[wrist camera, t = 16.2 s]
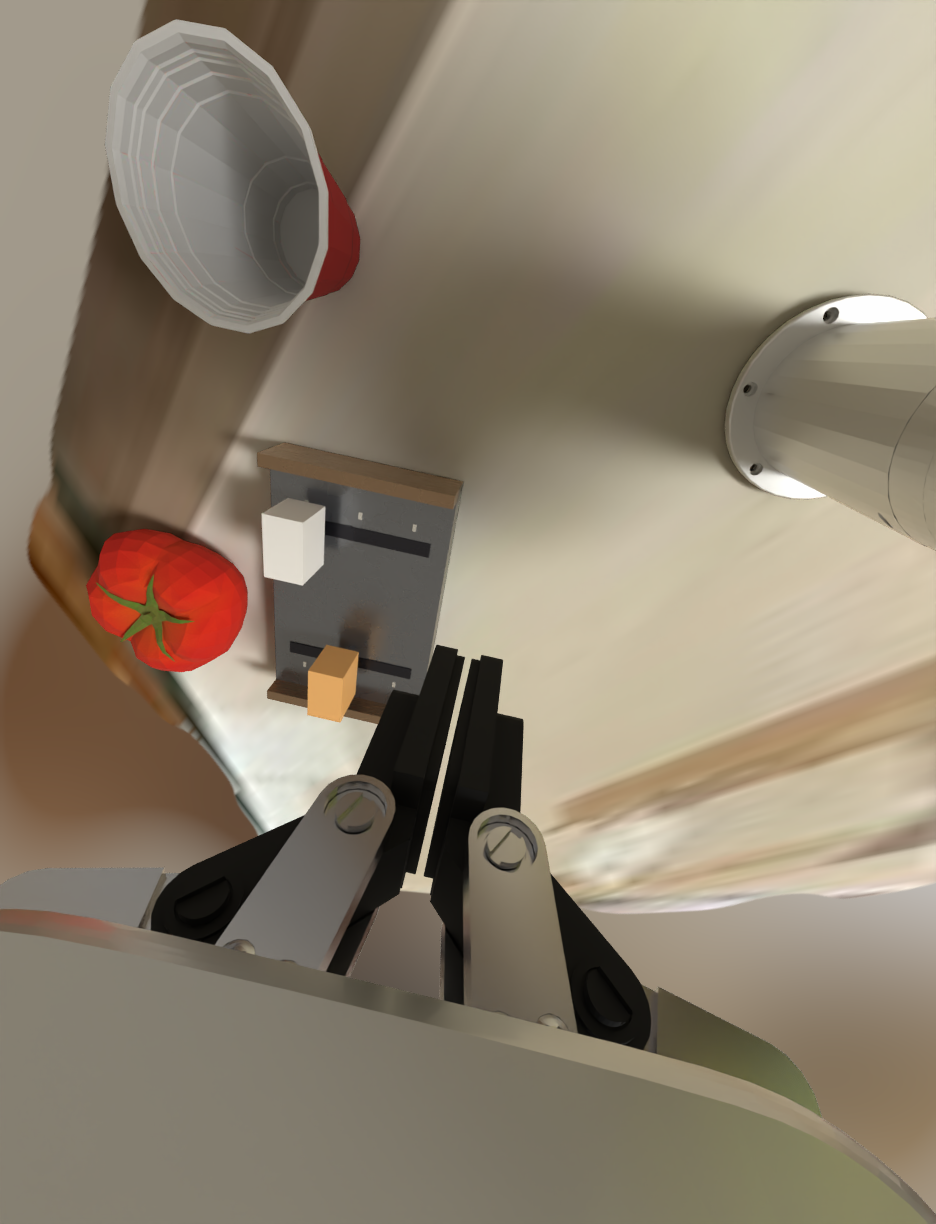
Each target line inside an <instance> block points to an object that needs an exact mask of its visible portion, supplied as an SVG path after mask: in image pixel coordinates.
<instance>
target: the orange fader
mask: <svg viewBox="0 0 936 1224" xmlns="http://www.w3.org/2000/svg"><path fill="white" fill-rule="evenodd" d="M358 654H359V652H356V651H352V650H348V649H343V648H339V647H335V646H330V645H326V646H325V648H324V649H323V650H322V652H321V653H320V655H319V656H318V658H317V659H316V660H315V662H314V663H313V665H312V666H311V667H310V669H309V670H308V713H307V715H310V716H314V717H319V718H323V719H327V720H332V721H336V722H341V720H342V718H343V716H344V714H345V713H346V711H347V709H348V707H349V705H350V703H351V701H352V699H353V697H354V695H355V692H356V679H357V667H358Z"/></svg>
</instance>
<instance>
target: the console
mask: <svg viewBox="0 0 936 1224" xmlns="http://www.w3.org/2000/svg"><path fill="white" fill-rule="evenodd" d="M257 464H258V467H263V468H267V469H270V477H271V508H272V507H273V506H275V505H277V504H278V503H280V502H282V501H283V500H285V499H287V498H291V499H295V500H300V501H304V502H309V503H313V504H318V505H322V506H325V535H324V565H323V566H322V567H321V568H320V569H319V570H318V571H317V572H316V573H315V574H314V575H313V576H312V577H311V578H310V579H309V580H308V581H307V582H306V583H305V584H304V585H303V586H302V585H298V584H294V583H289V582H285V581H280V580H276V579H273V580H274V615H275V649H276V680H275V681H274V683H273V684H272V685H271V686H270V688H269V689H268V690H267V699H272V700H276V701H280V702H285V703H289V704H293V705H298V706H302V707H306V708H308V670H309V669H310V667H311V666H312V665H313V663H314V662H315V660H316V659H317V658H318V656H319V655H320V653H321V652H322V650H323V649H324V648H325V646H326V645H330V646H335V647H339V648H343V649H348V650H352V651H356V652H359V654H358V667H357V679H356V692H355V695H354V697H353V699H352V701H351V703H350V705H349V707H348V709H347V711H346V713H345V714H344V716H345V717H349V718H354V719H358V720H362V721H367V722H371V723H375V724H378V723H379V721H380V718H381V716H382V713H383V711H384V709H385V706H386V704H387V702H388V699H389V697H390V695H391V693H392V691H393V690H398V691H403V692H407V693H411V694H416V695H419V694H420V692H421V689H422V686H423V683H424V680H425V677H426V674H427V671H428V668H429V665H430V662H431V659H432V655H433V649H434V644H435V638H436V633H437V627H438V621H439V616H440V610H441V605H442V599H443V593H444V588H445V582H446V577H447V571H448V565H449V560H450V554H451V548H452V543H453V537H454V532H455V526H456V520H457V515H458V509H459V504H460V498H461V492H462V487H463V482H462V481H458V480H453V479H449V478H444V477H440V476H435V475H431V474H426V473H421V472H417V471H412V470H408V469H403V468H399V467H394V466H390V465H385V464H381V463H376V462H371V461H367V460H362V459H358V458H353V457H349V456H344V455H340V454H335V453H330V452H326V451H321V450H317V449H312V448H308V447H303V446H299V445H294V444H290V443H285V442H284V443H282V444H279V445H276V446H274V447H271V448H268V449H266V450H263V451H260V452H258V453H257Z"/></svg>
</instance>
